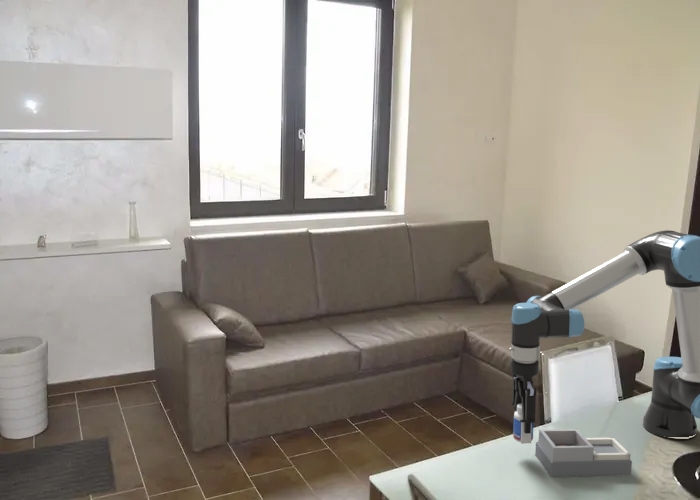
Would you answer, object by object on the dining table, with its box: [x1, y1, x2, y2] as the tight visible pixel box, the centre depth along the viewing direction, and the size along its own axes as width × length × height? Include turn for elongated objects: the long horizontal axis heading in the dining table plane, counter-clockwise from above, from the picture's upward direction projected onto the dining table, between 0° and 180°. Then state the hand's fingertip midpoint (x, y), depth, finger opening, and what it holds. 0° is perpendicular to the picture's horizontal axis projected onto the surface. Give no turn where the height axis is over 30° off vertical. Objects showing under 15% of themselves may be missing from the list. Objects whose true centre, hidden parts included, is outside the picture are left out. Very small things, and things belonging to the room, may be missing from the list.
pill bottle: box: [512, 404, 534, 443], centre depth 178 cm, size 6×5×10 cm
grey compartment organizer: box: [534, 428, 633, 478], centre depth 175 cm, size 22×12×8 cm, turn 93°
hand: (522, 437), depth 179 cm, fingers closed on pill bottle, 5 cm apart
